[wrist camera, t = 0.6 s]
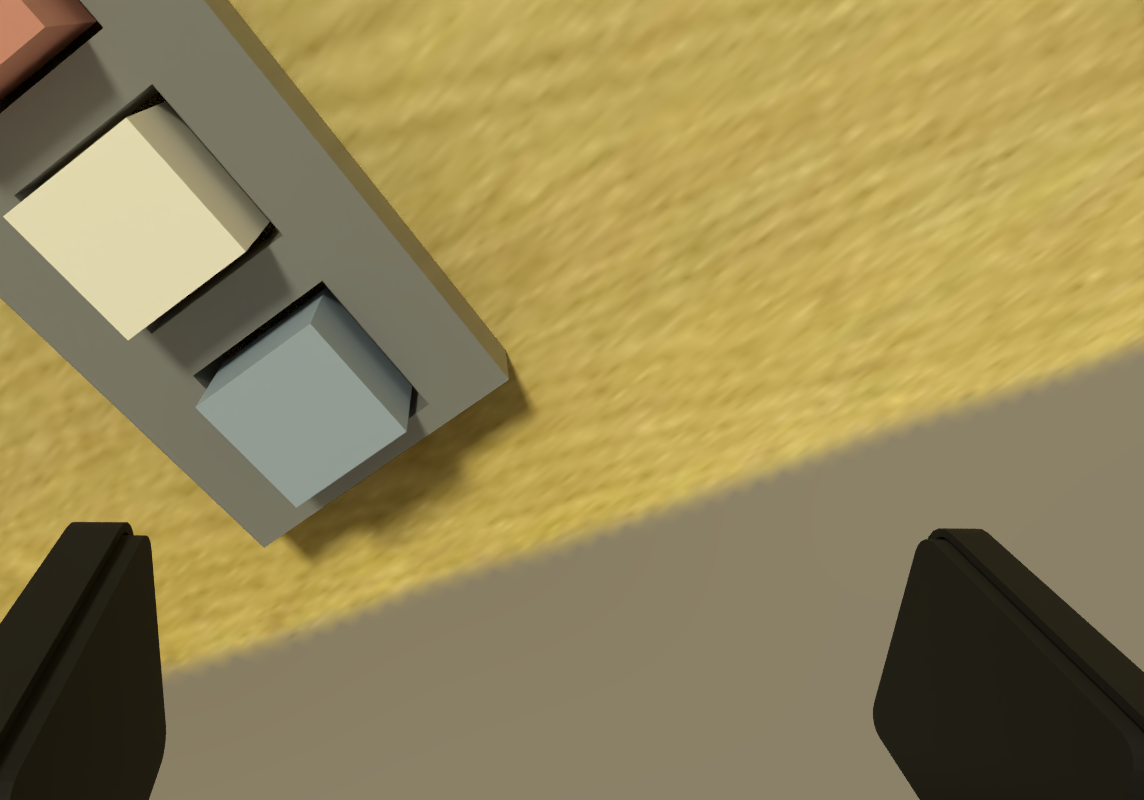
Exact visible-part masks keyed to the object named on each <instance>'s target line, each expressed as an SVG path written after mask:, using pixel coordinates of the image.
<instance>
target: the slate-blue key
mask: <svg viewBox="0 0 1144 800" xmlns="http://www.w3.org/2000/svg"><path fill="white" fill-rule="evenodd" d="M411 391H412V385H411V384H410V383H409V382H408V381H407V380H406V378H405V377H404V376H403V375H402V374H401V373H400V371H399V370H398V369H397V368H396V367H395V366H394V365H393V363H392V362H391V361H390V360H389V359H388V358H387V356H386V355H385V354H384V353H383V352H382V351H381V350H380V348H379V347H378V346H377V345H376V344H375V343H374V341H373V340H372V339H371V338H370V337H369V336H368V334H367V333H366V332H365V331H364V330H363V329H362V328H361V326H360V325H359V324H358V323H357V322H356V321H355V319H354V318H353V317H352V316H351V315H350V314H349V313H348V311H347V310H346V309H345V308H344V307H343V306H342V304H341V303H340V302H339V301H338V300H337V299H336V298H335V296H334V295H333V294H332V293H331V292H330V291H329V289H328V288H327V287H326V288H324V289H323V290H322V291H320V292H319V293H318V294H316V295H315V296H313V297H312V298H311V299H309V300H308V301H307V302H305V303H304V304H303V305H301V306H300V307H298V308H297V309H296V310H294V311H293V312H292V313H290V314H289V315H288V316H286V317H285V318H283V319H282V320H281V321H279V322H278V323H277V324H275V325H274V326H273V327H271V328H270V329H268V330H267V331H266V332H264V333H263V334H262V335H260V336H259V337H258V338H256V339H255V340H253V341H252V342H251V343H249V344H248V345H247V346H245V347H244V348H243V349H241V350H240V351H238V352H237V353H236V354H234V355H233V356H232V357H230V358H229V359H228V360H226V361H225V362H223V364H222V365H221V367H220V368H219V370H218V372H217V373H216V375H215V376H214V378H213V380H212V381H211V383H210V384H209V386H208V388H207V389H206V391H205V392H204V394H203V396H202V397H201V399H200V400H199V402H198V404H197V405H196V407H195V408H196V409H197V410H198V411H199V412H200V413H201V414H202V415H203V416H204V417H205V418H206V419H207V420H208V421H209V422H210V423H211V424H212V425H213V426H214V427H215V428H216V429H217V430H218V431H219V432H220V433H221V434H222V435H224V436H225V437H226V438H227V439H228V440H229V441H230V442H231V443H232V444H233V445H234V446H235V447H236V448H237V449H238V450H239V451H240V452H241V453H242V454H243V455H244V456H245V457H246V458H247V459H248V460H249V461H250V462H251V463H252V464H253V465H254V466H255V467H256V468H257V469H258V470H259V471H260V472H261V473H262V474H263V475H264V476H265V477H266V478H267V479H268V480H269V481H270V482H271V483H272V484H273V485H274V486H275V487H276V488H277V489H278V490H279V491H280V492H281V493H282V494H283V495H284V496H285V497H286V498H287V499H288V500H289V501H290V502H291V503H292V504H293V505H294V506H295V507H296V508H297V507H298V506H300V505H301V504H302V503H304V502H305V501H307V500H308V499H310V498H311V497H313V496H314V495H315V494H317V493H318V492H320V491H321V490H323V489H324V488H326V487H327V486H329V485H330V484H331V483H333V482H334V481H336V480H337V479H339V478H340V477H342V476H343V475H344V474H346V473H347V472H349V471H350V470H352V469H353V468H355V467H356V466H358V465H359V464H360V463H362V462H363V461H365V460H366V459H368V458H369V457H371V456H372V455H373V454H375V453H376V452H378V451H379V450H381V449H382V448H384V447H385V446H387V445H388V444H389V443H391V442H392V441H394V440H395V439H397V438H398V437H400V436H401V435H402V434H404V433H405V432H407V424H408V416H409V408H410V400H411Z"/></svg>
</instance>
